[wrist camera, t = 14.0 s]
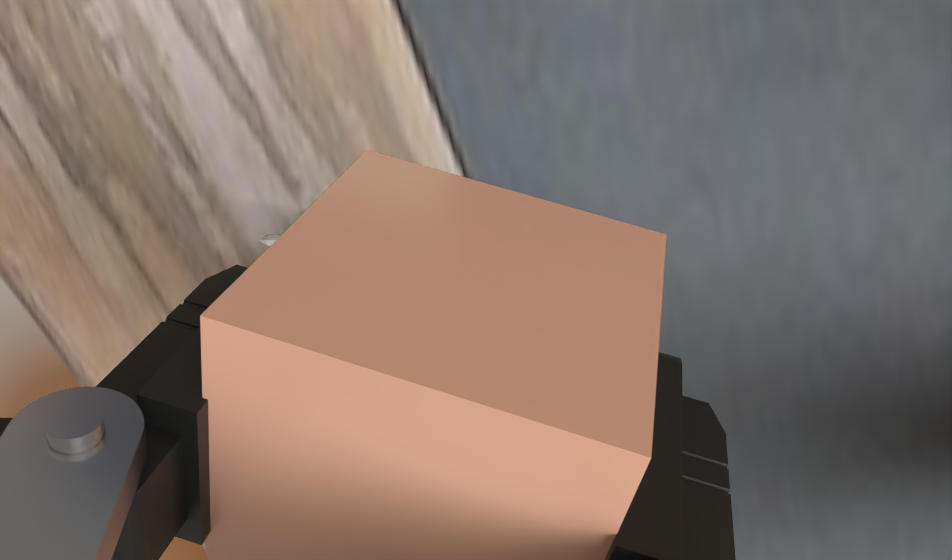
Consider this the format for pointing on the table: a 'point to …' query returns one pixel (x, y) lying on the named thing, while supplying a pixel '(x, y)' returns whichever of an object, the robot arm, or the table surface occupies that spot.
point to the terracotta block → (432, 376)
